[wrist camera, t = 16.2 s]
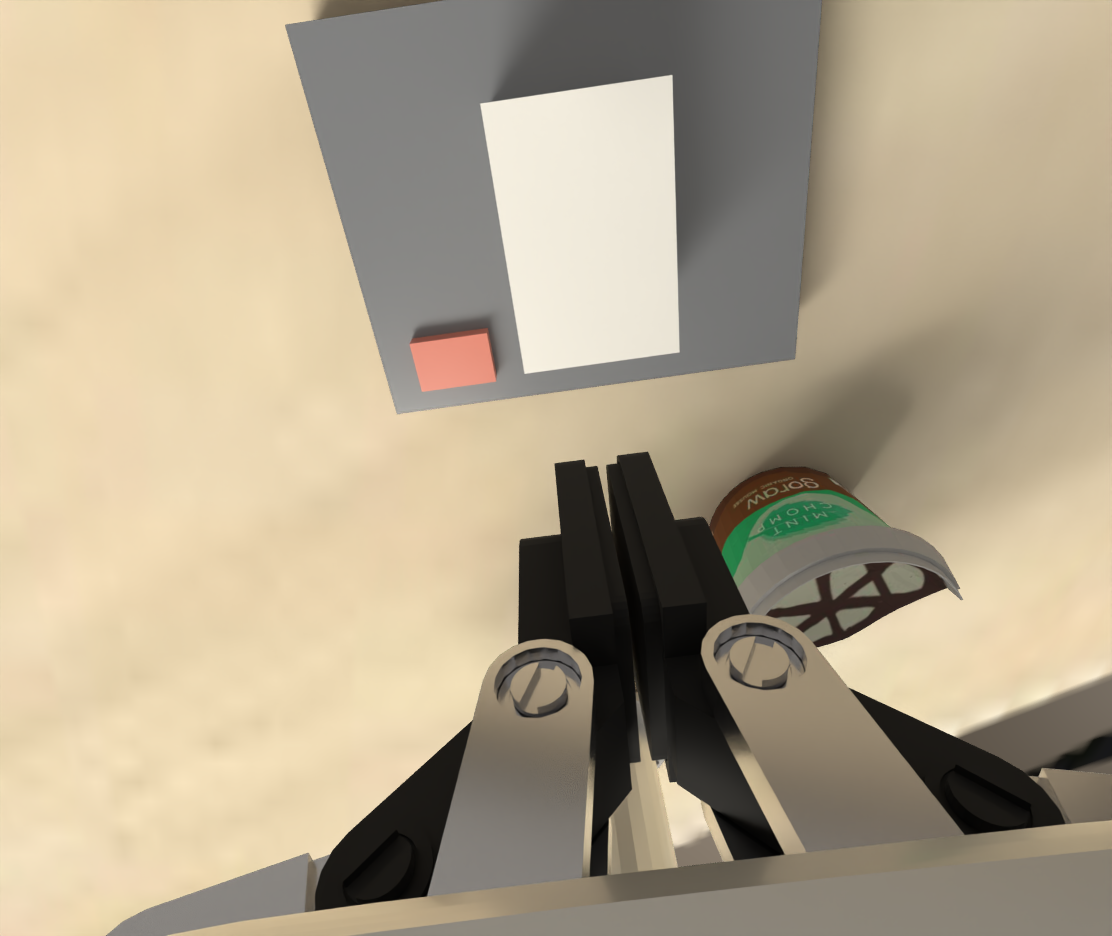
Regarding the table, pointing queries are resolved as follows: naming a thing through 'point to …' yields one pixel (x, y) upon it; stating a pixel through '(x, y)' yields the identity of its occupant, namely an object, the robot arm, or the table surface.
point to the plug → (588, 221)
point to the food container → (820, 555)
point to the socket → (468, 192)
